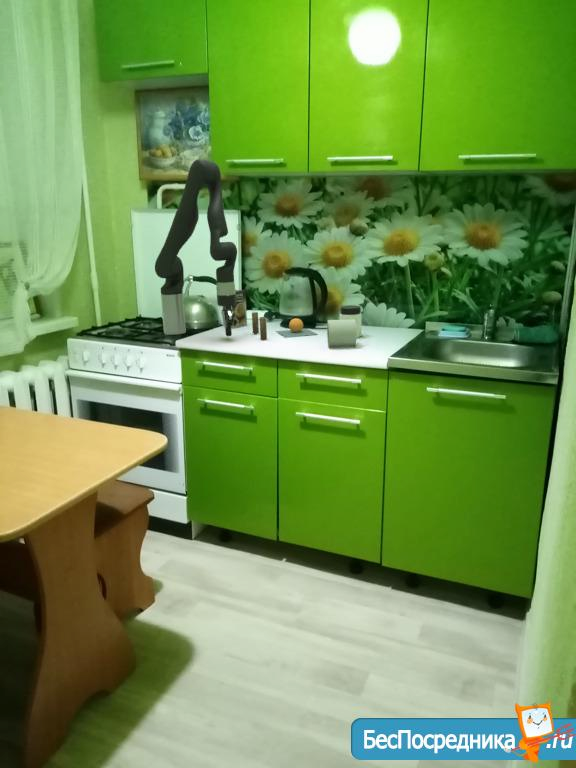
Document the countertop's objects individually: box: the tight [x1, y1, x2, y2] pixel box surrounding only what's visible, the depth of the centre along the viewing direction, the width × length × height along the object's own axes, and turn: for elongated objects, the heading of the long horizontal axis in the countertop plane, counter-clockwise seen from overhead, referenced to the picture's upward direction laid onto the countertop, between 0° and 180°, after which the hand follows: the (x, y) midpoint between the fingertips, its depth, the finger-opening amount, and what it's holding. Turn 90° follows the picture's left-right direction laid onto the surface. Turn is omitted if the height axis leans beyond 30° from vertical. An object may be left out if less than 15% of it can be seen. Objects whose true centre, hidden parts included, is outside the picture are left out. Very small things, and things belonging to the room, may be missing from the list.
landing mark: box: [275, 328, 318, 338], centre depth 251 cm, size 14×14×1 cm
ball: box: [288, 318, 304, 332], centre depth 251 cm, size 6×6×6 cm
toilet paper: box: [326, 319, 357, 348], centre depth 223 cm, size 10×10×10 cm
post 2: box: [259, 316, 268, 341], centre depth 239 cm, size 3×3×9 cm
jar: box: [339, 304, 362, 339], centre depth 239 cm, size 9×8×12 cm
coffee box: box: [223, 289, 248, 329], centre depth 269 cm, size 9×6×16 cm
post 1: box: [251, 311, 260, 335], centre depth 251 cm, size 3×3×9 cm
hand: (228, 335), depth 242 cm, fingers closed
